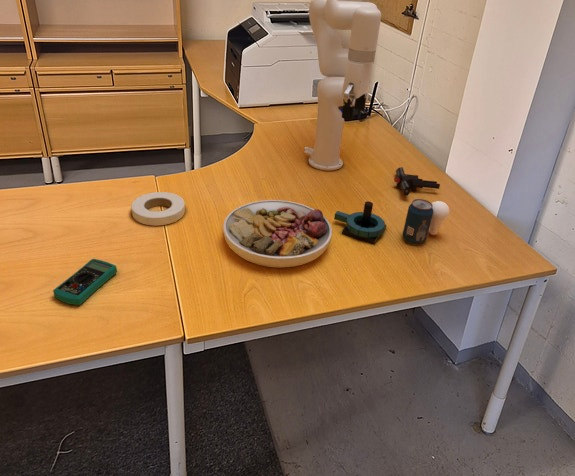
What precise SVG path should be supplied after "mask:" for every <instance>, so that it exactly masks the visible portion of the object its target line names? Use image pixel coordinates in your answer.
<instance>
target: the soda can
mask: <svg viewBox="0 0 575 476" xmlns="http://www.w3.org/2000/svg"><path fill="white" fill-rule="evenodd" d="M432 207H433V205H432V202H430V201H429V200H426V199H424V198H423V199H422V198H416V199H413V200H412V201H411V203H410V204H409V206H408V208H407V213H406V217H405V222H404V226H403V229H402V237H403V239H404V241H405V242H406V243H407V244H409V245H413V246H420V245H422V244H424V243H425V242H426V241H427V239H428V235H429V228H430V223H431V220H432V216H433V208H432Z"/></svg>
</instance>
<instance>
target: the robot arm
mask: <svg viewBox="0 0 575 476" xmlns="http://www.w3.org/2000/svg"><path fill="white" fill-rule="evenodd" d="M308 6H309V7H308V16H309V23H310V27H311V30H312V32H313V35H314V38H315V40H316V45H317V46H316V50H317V59H318V67H319V71H320V73H321V75H322V76H324V77H323V78H322V79H320V80H319V82H317V83H318V84H317V89H316V90H317V91H316V92H317V93H316V94H317V96H316V97H317V112H316V113H317V114H316V125H315V134H314V135H315V137H314V145H313V148H312V147H310V146H305V147H304V148H303V151H304V155H309V158H308V164H309V165H310V166H311V167H312V168H315V169H317V170H321V171H330V172H331V171H336V170H340V169H341V168H342V167H343V164H344V161H343V159H342V158H340V157H341V156H340V153H341V147H342V140H343V131H344V125H345V124H344V123H345V120H348V121H352V120H353V118H354V111H355V110H359V111H362V112H363V111H365V109H366V104H367V102H368V100H369V94H370V92H369V91H370V90H369V89H370V88H369V87H370V83H371V75H372V65H373V64H374V63H375V59H376V52H377V46H378V39H379V34H380V28H381V21H382V12H381V11H380V9H378V6H377V5H376V4H375V3H374V2H370V0H310V2H309V5H308ZM338 31H350V37H349V45H348V48H345V47H343V44H342V37H341V34H340V33H339V32H338ZM339 107H342V111H341V109H340V108H339Z"/></svg>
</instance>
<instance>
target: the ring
mask: <svg viewBox="0 0 575 476" xmlns="http://www.w3.org/2000/svg"><path fill="white" fill-rule="evenodd" d="M362 216H363V211H357V212H352V213H350V214H349V213H346V212H342V211H340V210H336V212H335V213H334V217H333V219H334V220H336V221H339V222H342V223H345V226H346V227H347V229H348V230H349V231H350V232H351V233H353V234H355V235H357V236H358V235H359V236H361V237H366V238H371V237H377V236H379V235H383V234H384V231H385V230H384V227H385V224H386V221H385V220H384V219H383V218H382V217H381V216H379V215H377V214H375V213H371V219H370V222H371V223H373V224H375V226H376V227H374V228H364V227H360V226H358V225H356V224H355V222H357V221H362Z"/></svg>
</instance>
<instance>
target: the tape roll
mask: <svg viewBox="0 0 575 476" xmlns="http://www.w3.org/2000/svg"><path fill="white" fill-rule="evenodd" d="M159 206H162V207H167V209H163V210H151V208H153V207H159ZM185 212H186V205H185V200H184V198H182V197H181V196H180V195H178V194H176V193H172V192H168V191H167V192H166V191H153V192H149V193H145V194H142V195H140V196H138V197H137V198H135V199H134V200H133V201H132V203H131V215H132V217H133V219H134V220H135V221H136V222H138V223H140V224H143V225H147V226H155V227H156V226H165V225H169V224H173V223H176V222H178V221H179V220H180V219H181V218H182V217H184V215H185V214H186V213H185Z"/></svg>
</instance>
